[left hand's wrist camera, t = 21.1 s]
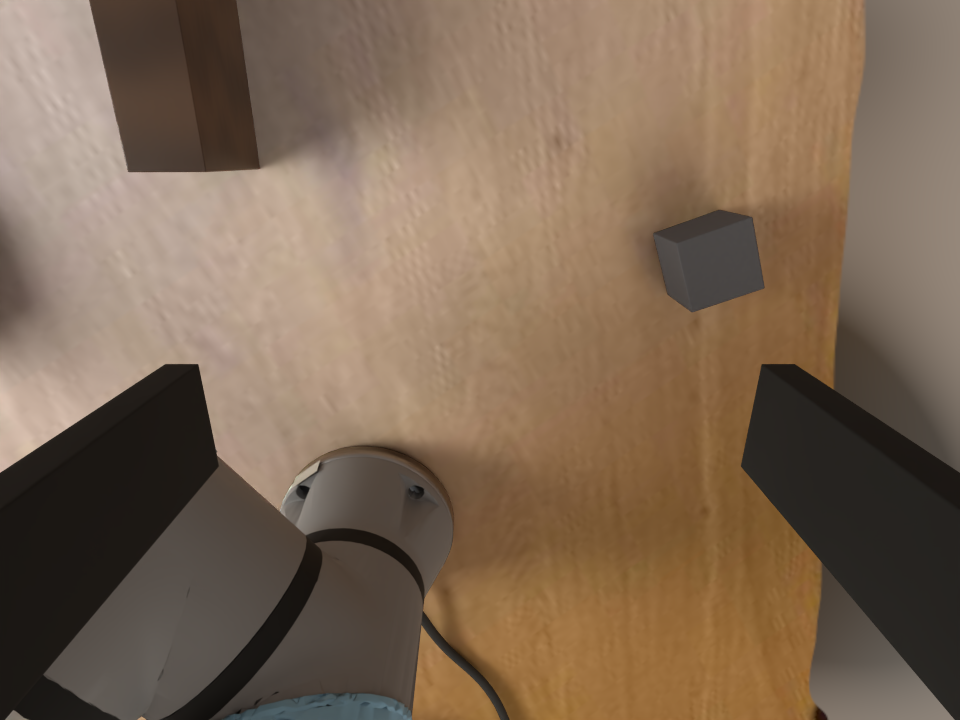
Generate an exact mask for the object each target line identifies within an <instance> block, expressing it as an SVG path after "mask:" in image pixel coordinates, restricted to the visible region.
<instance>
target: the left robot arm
mask: <svg viewBox="0 0 960 720" xmlns="http://www.w3.org/2000/svg"><path fill="white" fill-rule="evenodd" d="M216 453H217V450H216V449H215V444H214V439H213V434H212V429H211V424H210V419H209V415H208V410H207V405H206V400H205V395H204V390H203V385H202V380H201V376H200V371H199V366H198V364H165V365H163V366H162V367H160V368H159V369H157V370H156V371H154V372H153V373H151V374H150V375H148V376H147V377H145V378H144V379H142V380H141V381H139V382H138V383H136V384H135V385H133V386H132V387H130V388H128V389H127V390H125V391H124V392H122V393H121V394H119V395H118V396H116V397H115V398H113V399H112V400H110V401H109V402H107V403H106V404H104V405H103V406H101V407H100V408H98V409H97V410H95V411H94V412H92V413H90V414H89V415H87V416H86V417H84V418H83V419H81V420H80V421H78V422H77V423H75V424H74V425H72V426H71V427H69V428H68V429H66V430H65V431H63V432H62V433H60V434H59V435H57V436H56V437H54V438H52V439H51V440H49V441H48V442H46V443H45V444H43V445H42V446H40V447H39V448H37V449H36V450H34V451H33V452H31V453H30V454H28V455H27V456H25V457H24V458H22V459H21V460H19V461H18V462H16V463H14V464H13V465H11V466H10V467H8V468H7V469H5V470H4V471H2V472H1V473H0V720H137V719H138V718H140V717H141V716H142V717H144V718H145V719H146V720H412V709H413V700H414V690H415V680H416V671H417V661H418V652H419V642H420V632H421V625H422V626H423V627H424V629H425V630H426V632H427V633H428V634H429V636H430V637H431V638H432V640H433V641H434V642H435V643H436V644H437V645H438V646H439V648H440V649H441V650H442V651H443V652H444V653H445V654H446V655H447V656H448V657H450V658H451V659H452V660H453V661H454V662H455V663H456V664H457V665H459V666H460V667H461V668H462V669H463V670H464V671H466V672H467V673H468V674H469V675H470V676H471V677H472V678H473V679H474V680H475V681H476V682H477V683H478V684H479V685H480V686H481V688H482V689H483V690H484V691H485V693H486V694H487V695H488V697H489V698H490V700H491V701H492V703H493V705H494V707H495V708H496V710H497V712H498V715H499V717H500V719H501V720H509V717H508V715H507V712H506V710H505V708H504V706H503V704H502V702H501V700H500V698H499V697H498V695H497V694H496V692H495V691H494V689H493V688H492V686H491V685H490V684H489V683H488V681H487V680H486V679H485V678H484V677H483V676H482V675H481V674H480V673H479V672H478V671H477V670H476V669H475V668H474V667H473V666H472V665H471V664H470V663H468V662H467V661H466V660H465V659H464V658H463V657H462V656H460V655H459V654H458V653H457V652H456V651H455V650H454V649H453V648H452V647H451V646H450V645H449V644H448V643H447V642H446V641H445V640H444V639H443V637H442V636H441V635H440V634H439V632H438V631H437V630H436V628H435V627H434V626H433V624H432V623H431V621H430V620H429V619H428V617H427V616H426V614H425V613H424V612H423V605H424V598H425V596H426V594H427V593H428V591H429V589H430V587H431V586H432V584H433V582H434V581H435V579H436V577H437V575H438V574H439V572H440V570H441V568H442V567H443V565H444V563H445V561H446V559H447V557H448V554H449V552H450V549H451V545H452V540H453V527H454V515H453V509H452V505H451V501H450V499H449V496H448V494H447V492H446V490H445V489H444V487H443V485H442V484H441V483H440V481H439V480H438V479H437V478H436V477H435V475H434V474H433V473H432V472H430V471H429V470H428V469H427V468H426V467H424V466H423V465H422V464H420V463H419V462H417V461H416V460H414V459H412V458H410V457H408V456H406V455H404V454H401V453H399V452H396V451H393V450H390V449H385V448H380V447H372V446H355V447H347V448H342V449H338V450H335V451H332V452H329V453H327V454H324V455H322V456H320V457H319V458H317V459H315V460H314V461H312V462H311V463H309V464H308V465H307V466H306V467H305V468H304V469H303V470H302V471H301V472H300V473H299V474H298V476H296V478H295V480H294V481H293V483H292V485H291V487H290V488H289V490H288V492H287V494H286V496H285V498H284V500H283V502H282V506H281V509H280V512H279V511H278V510H277V509H276V508H275V507H274V506H273V505H272V504H270V503H269V502H268V501H267V500H266V499H265V498H264V497H263V496H262V495H260V494H259V493H258V492H257V491H256V490H255V489H254V488H253V487H252V486H250V485H249V484H248V483H247V482H246V481H245V480H244V479H243V478H242V477H240V476H239V475H238V474H237V473H236V472H235V471H234V470H233V469H231V468H230V467H229V466H228V465H227V464H226V463H225V462H224V461H223V460H221V459H220V458H219V457H218V456H217V454H216ZM741 467H742V468H743V469H744V471H745V472H746V473H747V474H748V475H749V476H750V478H751V479H752V480H753V481H754V482H755V484H756V485H757V486H758V487H759V488H760V489H761V491H762V492H763V493H764V494H765V495H766V497H767V498H768V499H769V500H770V501H771V503H772V504H773V505H774V506H775V507H776V508H777V510H778V511H779V512H780V513H781V514H782V516H783V517H784V518H785V519H786V520H787V521H788V523H789V524H790V525H791V526H792V527H793V529H794V530H795V531H796V532H797V533H798V535H799V536H800V537H801V538H802V539H803V540H804V542H805V543H806V544H807V545H808V546H809V548H810V549H811V550H812V551H813V552H814V553H815V555H816V556H817V557H818V558H819V559H820V561H821V562H822V563H823V564H824V565H825V567H826V568H827V569H828V570H829V571H830V572H831V574H832V575H833V576H834V577H835V578H836V579H837V581H838V582H839V583H840V584H841V585H842V587H843V588H844V589H845V590H846V591H847V593H848V594H849V595H850V596H851V597H852V598H853V600H854V601H855V602H856V603H857V604H858V606H859V607H860V608H861V609H862V610H863V612H864V613H865V614H866V615H867V616H868V617H869V619H870V620H871V621H872V622H873V623H874V625H875V626H876V627H877V628H878V629H879V630H880V632H881V633H882V634H883V635H884V636H885V638H886V639H887V640H888V641H889V642H890V644H891V645H892V646H893V647H894V648H895V649H896V651H897V652H898V653H899V654H900V655H901V657H902V658H903V659H904V660H905V661H906V662H907V664H908V665H909V666H910V667H911V668H912V670H913V671H914V672H915V673H916V674H917V675H918V677H919V678H920V679H921V680H922V681H923V683H924V684H925V685H926V686H927V687H928V689H929V690H930V691H931V692H932V693H933V694H934V696H935V697H936V698H937V699H938V700H939V702H940V703H941V704H942V705H943V706H944V707H945V709H946V710H947V711H948V712H949V713H950V715H951V716H952V717H953V718H954V719H955V720H960V473H959V472H958V471H956V470H955V469H953V468H952V467H950V466H949V465H947V464H946V463H944V462H942V461H941V460H939V459H938V458H936V457H935V456H933V455H932V454H930V453H929V452H927V451H926V450H924V449H923V448H921V447H920V446H918V445H917V444H915V443H914V442H912V441H911V440H909V439H908V438H906V437H904V436H903V435H901V434H900V433H898V432H897V431H895V430H894V429H892V428H891V427H889V426H888V425H886V424H885V423H883V422H882V421H880V420H879V419H877V418H876V417H874V416H873V415H871V414H870V413H868V412H866V411H865V410H863V409H862V408H860V407H859V406H857V405H856V404H854V403H853V402H851V401H850V400H848V399H847V398H845V397H844V396H842V395H841V394H839V393H838V392H836V391H835V390H833V389H832V388H830V387H828V386H827V385H825V384H824V383H822V382H821V381H819V380H818V379H816V378H815V377H813V376H812V375H810V374H809V373H807V372H806V371H804V370H803V369H801V368H800V367H798V366H797V365H795V364H762V366H761V371H760V376H759V380H758V385H757V390H756V395H755V400H754V405H753V410H752V415H751V419H750V424H749V429H748V434H747V439H746V444H745V449H744V454H743V459H742V463H741Z"/></svg>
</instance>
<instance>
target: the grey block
mask: <svg viewBox="0 0 960 720" xmlns="http://www.w3.org/2000/svg"><path fill="white" fill-rule="evenodd" d="M653 235H654V240H655V244H656V248H657V252H658V256H659V260H660V264H661V268H662V273H663V277H664V281H665V285H666V289H667V293H668V295H669V296H670V297H672V298H673V299H674V300H676V301H677V302H678V303H680V304H681V305H683V306H684V307H685V308H687V309H688V310H689V311H691V312H695V311H698V310H701V309H704V308H707V307H710V306H713V305H716V304H719V303H722V302H725V301H728V300H731V299H734V298H737V297H740V296H743V295H746V294H749V293H752V292H755V291H758V290H761V289H764V282H763V276H762V270H761V265H760V259H759V253H758V247H757V242H756V236H755V230H754V225H753V219H752V217H750V216H745V215H741V214H736V213H731V212H727V211H722V210H717V211H715V212H712V213H709V214H706V215H703V216H701V217H698V218H695V219H692V220H689V221H687V222H684V223H681V224H678V225H675V226H673V227H670V228H667V229H664V230H661V231H658V232H656V233H654V234H653Z"/></svg>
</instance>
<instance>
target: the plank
mask: <svg viewBox="0 0 960 720" xmlns="http://www.w3.org/2000/svg"><path fill="white" fill-rule="evenodd" d="M89 2H90V6H91V10H92V15H93V19H94V24H95V28H96V32H97V37H98V41H99V46H100V50H101V55H102V59H103V63H104V68H105V72H106V77H107V81H108V86H109V90H110V94H111V99H112V103H113V108H114V112H115V116H116V121H117V125H118V130H119V134H120V139H121V143H122V147H123V152H124V156H125V161H126V165H127V170H128V172H214V171H233V170H252V169H260V165H259V158H258V151H257V144H256V137H255V130H254V123H253V116H252V109H251V102H250V95H249V88H248V81H247V73H246V66H245V59H244V52H243V45H242V38H241V31H240V24H239V17H238V10H237V3H236V0H89Z"/></svg>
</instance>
